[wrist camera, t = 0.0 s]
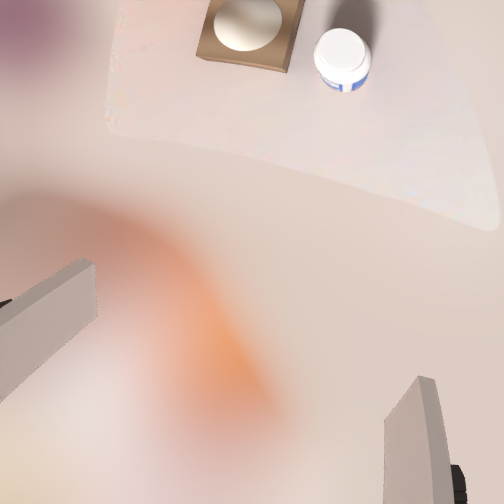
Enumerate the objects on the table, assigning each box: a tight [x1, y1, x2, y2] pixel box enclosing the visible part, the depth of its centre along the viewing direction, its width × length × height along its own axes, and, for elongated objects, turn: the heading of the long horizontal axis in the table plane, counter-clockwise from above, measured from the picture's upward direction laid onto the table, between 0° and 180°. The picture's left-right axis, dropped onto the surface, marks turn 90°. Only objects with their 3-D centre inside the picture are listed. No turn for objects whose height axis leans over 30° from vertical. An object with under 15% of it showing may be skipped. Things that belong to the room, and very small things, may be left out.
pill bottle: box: [313, 28, 372, 92], centre depth 26 cm, size 6×5×10 cm
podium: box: [196, 0, 305, 73], centre depth 29 cm, size 10×10×3 cm
